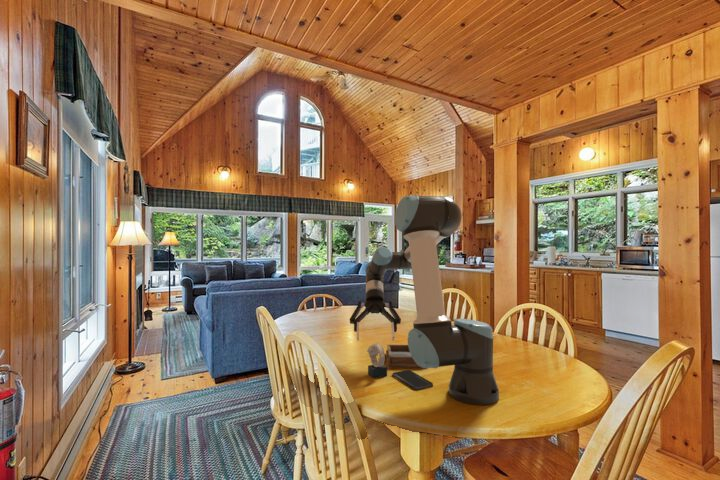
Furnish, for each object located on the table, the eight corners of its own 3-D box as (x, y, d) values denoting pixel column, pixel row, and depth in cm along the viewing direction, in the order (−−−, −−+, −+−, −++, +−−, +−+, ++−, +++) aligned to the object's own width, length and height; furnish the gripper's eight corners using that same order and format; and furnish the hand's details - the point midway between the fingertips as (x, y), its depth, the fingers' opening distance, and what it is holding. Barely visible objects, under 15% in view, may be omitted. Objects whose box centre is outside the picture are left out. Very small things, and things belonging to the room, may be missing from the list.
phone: (415, 388, 117) (391, 372, 130) (415, 392, 117) (391, 376, 130) (434, 384, 120) (409, 369, 134) (434, 387, 120) (409, 372, 134)
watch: (379, 370, 135) (378, 340, 135) (389, 377, 128) (389, 346, 128) (365, 372, 133) (365, 342, 133) (375, 380, 125) (375, 348, 125)
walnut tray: (427, 368, 137) (427, 357, 137) (388, 367, 137) (388, 357, 137) (421, 353, 154) (421, 344, 154) (386, 353, 154) (386, 344, 154)
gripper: (403, 298, 154) (407, 343, 140) (345, 298, 155) (343, 343, 140) (404, 288, 149) (409, 333, 134) (344, 288, 150) (342, 333, 135)
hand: (375, 338), depth 137 cm, fingers open, 13 cm apart
